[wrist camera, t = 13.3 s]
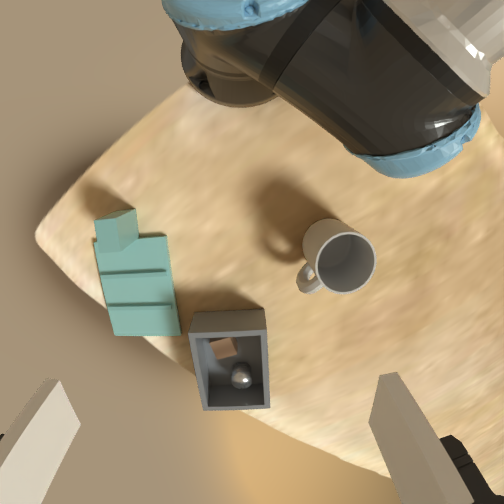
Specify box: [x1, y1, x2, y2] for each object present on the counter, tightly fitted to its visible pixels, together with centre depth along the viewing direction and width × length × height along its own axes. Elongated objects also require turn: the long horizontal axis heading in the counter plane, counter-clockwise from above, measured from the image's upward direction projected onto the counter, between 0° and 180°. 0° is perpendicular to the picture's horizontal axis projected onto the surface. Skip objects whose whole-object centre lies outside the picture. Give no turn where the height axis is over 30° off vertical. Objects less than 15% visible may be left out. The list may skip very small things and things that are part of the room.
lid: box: [94, 209, 182, 336], centre depth 39 cm, size 19×11×7 cm, turn 3°
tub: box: [188, 309, 270, 410], centre depth 43 cm, size 14×10×6 cm
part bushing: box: [231, 362, 252, 389], centre depth 45 cm, size 3×3×3 cm
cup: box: [296, 218, 376, 294], centre depth 38 cm, size 7×10×9 cm
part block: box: [209, 337, 238, 360], centre depth 43 cm, size 3×3×3 cm
